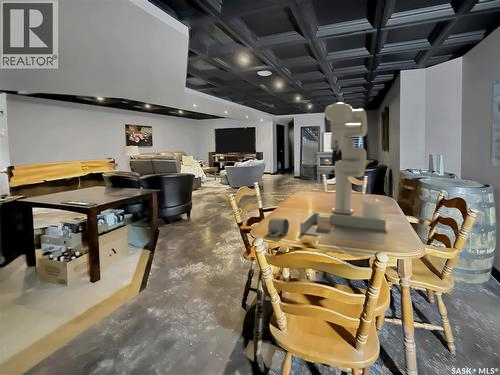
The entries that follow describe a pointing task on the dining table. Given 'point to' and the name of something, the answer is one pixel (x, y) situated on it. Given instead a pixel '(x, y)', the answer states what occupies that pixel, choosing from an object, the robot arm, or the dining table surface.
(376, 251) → the dining table surface
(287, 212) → the dining table surface
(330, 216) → the birch cube
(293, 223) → the dining table surface
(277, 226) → the ceramic mug
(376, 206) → the candle holder
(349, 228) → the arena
